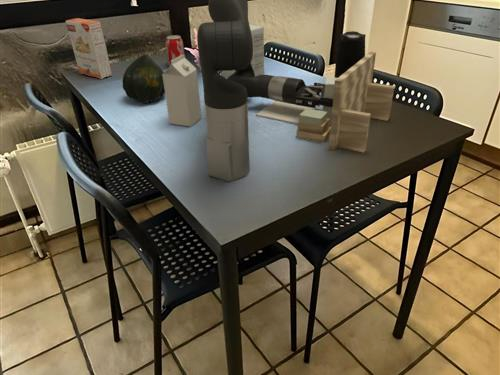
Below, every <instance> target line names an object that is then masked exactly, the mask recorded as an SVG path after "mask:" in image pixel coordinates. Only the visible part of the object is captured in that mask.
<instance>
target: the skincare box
mask: <svg viewBox="0 0 500 375" xmlns="http://www.w3.org/2000/svg"><path fill="white" fill-rule="evenodd" d="M336 79H337V78H335V77H330V76H329V77H326V78H325V83H324V84H325V92H324V97H325V98H331V99H333V96H334V84H335V80H336ZM322 111H325V112H327V118H328V119H330V125H331V118H332V107H327V106H322Z"/></svg>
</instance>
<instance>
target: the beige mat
mask: <svg viewBox="0 0 500 375" xmlns="http://www.w3.org/2000/svg"><path fill="white" fill-rule="evenodd" d="M306 108H307V109H313V110H317V109H318V106H316V108H311V107H305V106H299V105H295V104H289V103H284V102H279V101H275V100H274V101H273V102H272V103H270V104H269V105H267V106H266V107H264V108H263V109H262V110H260V111H258V113H256V114H255V116H256V117H259V118H264V119H269V120H273V121H278V122H284V123H289V124H293V125H297V126H298V121H299V115H300V114H301V113H302V112H303V111H304V110H305V109H306Z"/></svg>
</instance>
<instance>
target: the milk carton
mask: <svg viewBox="0 0 500 375" xmlns="http://www.w3.org/2000/svg"><path fill="white" fill-rule="evenodd" d="M197 71H198V70H197V68H196V67H195V66H194V65H193V64H192V63H191V62H190V61H189V60H188V59H187V58H186V55H185V53H184V54H183V55H181V56H179V57H177V58H175V59H173V60H171V66H168V67H167V69H166V70H164V71H163V72H164V73H163V74H162V76H163V82H164V89H165V93H164V95H165V100H166V101H165V102H166V107H167V114H168V120H169V124H171V125H175V126H176V125H177V126H184V127H192V126H193V125H194V124H195V123H197V122H198V121H199V120H200V119H202V111H201V110H202V109H201V100H200V90H199V81H198V72H197Z"/></svg>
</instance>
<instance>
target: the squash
mask: <svg viewBox="0 0 500 375" xmlns="http://www.w3.org/2000/svg"><path fill="white" fill-rule="evenodd" d="M164 72H165V71H163V69H162V68H161V67H160V66H159V64H157V63H156V61H154V60H153V59H152V58H151V57H150V56H149V55H148V54H143V55H141V56H138V58H137V59H135V60H133V61H132V62H131V63H130V65H128V67H127V68H126V69H125V71H124V74H123V77H122V89H123V90H124V92H125V94H126V96H127V97H129V99H134V100H139V101H140V102H141V103H142V104H147V103H148V102H149V101H150V102H156V100H158V99H159V98H161V97H163V96H164V95H165V89H164V82H163V76H162V74H163V73H164Z"/></svg>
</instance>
